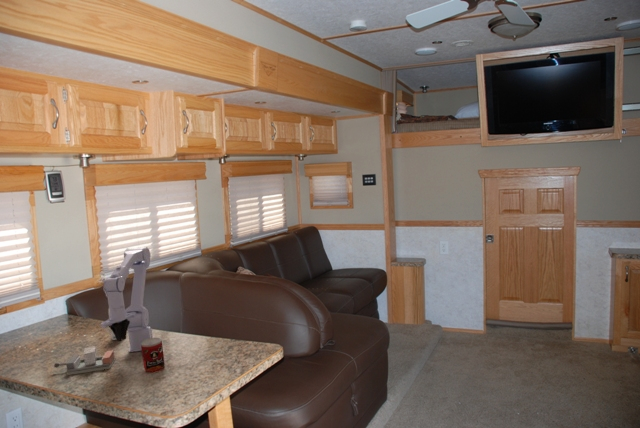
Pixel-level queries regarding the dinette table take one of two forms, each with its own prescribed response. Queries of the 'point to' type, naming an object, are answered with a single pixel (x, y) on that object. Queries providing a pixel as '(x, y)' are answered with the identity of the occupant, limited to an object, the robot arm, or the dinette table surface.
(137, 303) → the robot arm
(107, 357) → the block
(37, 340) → the dinette table surface
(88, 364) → the aluminium block
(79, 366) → the vise base
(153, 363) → the canned food
